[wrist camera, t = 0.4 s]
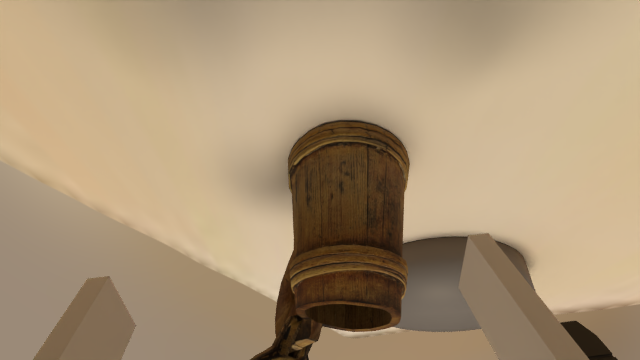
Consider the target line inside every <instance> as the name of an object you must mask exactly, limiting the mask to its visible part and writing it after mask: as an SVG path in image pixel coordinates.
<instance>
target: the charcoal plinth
mask: <svg viewBox="0 0 640 360" xmlns="http://www.w3.org/2000/svg"><path fill="white" fill-rule="evenodd" d="M467 239H468V237H442V238H432V239H425V240H418V241H414V242H409V243H405V244H403V246H402V258H403V259H404V260H406V262H407V266H408V277H407V286H406V292H405V296H404V298H403V299H402V304H401V320H400V322H399V323H398V324H397V325H396V326H393V327H396V328H401V329H407V330H415V331H431V332H452V331H466V330H475V329H481V327H480V325H479V323H478V322H477V320H476V318H475V316H474V314H473V313H472V311H471V309H470V307H469V306H468V304H467V302H466V300H465V298H464V297H463V295H462V293H461V291H460V289H459V288H458V287H459V281H460V276H461V271H462V266H463V260H464V255H465V250H466V244H467ZM496 243H497V245H498V246H499V247H500V248H501V250H502V251H503V252H504V253H505V255H506V256H507V257H508V258H509V260H510V261H511V262H512V263H513V265H514V266H515V267H516V268H517V270H518V271H519V272H520V273H521V275H522V276H523V277H524V278H525V280H526V281H527V282H528V283H529V285H530V286H531V287H532V288H533V290H534V291H535V289H534V286H533V283H532V280H531V277H530V274H529V271H528V269H527V266H526V263H525V260H524V257H523V256H522V255H521V254H520V253H519V252H518V251H517V250H515V249H513V248H512V247H510V246H508V245H505V244H502V243H499V242H496Z"/></svg>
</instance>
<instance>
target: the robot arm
mask: <svg viewBox="0 0 640 360" xmlns="http://www.w3.org/2000/svg"><path fill="white" fill-rule="evenodd" d="M458 288H459V289H460V291H461V293H462V295H463V297H464V298H465V300H466V302H467V304H468V306H469V307H470V309H471V311H472V313H473V314H474V316H475V318H476V320H477V322H478V323H479V325H480V327H481V329H482V331H483V332H484V334H485V336H486V337H487V339H488V341H489V343H490V345H491V347H492V348H493V350H494V352H495V354H496V355H497V357H498V359H499V360H617V359H616V357H613V356H612V353H611V352H610V350H609V349H608V348H607V347H606V346H605V345H604V344H603V342H602V341H601V340H600V339H599V338H598V337H597V336H596V335H595V334H594V333H592V332H591V331H590V330H588V329H587V328H585V327H584V326H583V325H581V324H580V323H579V322H577V321H570V322H562V323H560V322H559V321H558V320H557V318H556V317H555V316H554V315H553V313H552V312H551V311H550V310H549V308H548V307H547V306H546V305H545V303H544V302H543V301H542V300H541V298H540V297H539V296H538V295H537V293H536V292H535V291H534V290H533V288H532V287H531V286H530V285H529V283H528V282H527V281H526V280H525V278H524V277H523V276H522V275H521V273H520V272H519V271H518V270H517V268H516V267H515V266H514V265H513V263H512V262H511V261H510V260H509V258H508V257H507V256H506V255H505V253H504V252H503V251H502V250H501V248H500V247H499V246H498V245H497V243H496V242H495V241H494V240H493V238H492V237H491V236H490V235H489V233H486V234H477V235H468V239H467V244H466V250H465V255H464V260H463V266H462V271H461V276H460V281H459V287H458ZM135 327H136V325H135V323H134V321H133V319H132V318H131V316H130V314H129V312H128V310H127V308H126V306H125V305H124V302H123V301H122V299H121V297H120V295H119V293H118V291H117V290H116V288H115V286H114V284H113V282H112V280H111V278H110V277H109V276H106V277H97V278H88V279H87V280H86V282H85V283H84V285H83V286H82V287H81V289H80V290H79V292H78V293H77V295H76V297H75V298H74V299H73V301H72V302H71V304H70V305H69V307H68V308H67V310H66V311H65V313H64V314H63V316H62V317H61V319H60V320H59V322H58V323H57V325H56V326H55V328H54V329H53V331H52V332H51V334H50V335H49V336H48V338H47V339H46V341H45V342H44V344H43V346H42V347H41V348H40V350H39V351H38V353H37V354H36V356H35V357H34V359H33V360H121V359H122V356H123V354H124V352H125V349H126V347H127V345H128V343H129V340H130V338H131V336H132V333H133V331H134V329H135Z"/></svg>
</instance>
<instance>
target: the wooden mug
mask: <svg viewBox="0 0 640 360" xmlns="http://www.w3.org/2000/svg"><path fill="white" fill-rule="evenodd" d="M409 165H410V163H409V159H408V155H407V151H406V150H405V148H404V146H403V145H402V143H401V142H400V141H399V140H398V139H397V138H396V137H395V136H394V135H393V134H391V133H390V132H388V131H386V130H384V129H382V128H380V127H378V126H374V125H370V124H365V123H361V122H335V123H329V124H324V125H322V126H319V127H317V128H315V129H313V130H311V131H309V132H308V133H307V134H306V135H304V136H303V137H302V138H301V139H299V141H298V142H297V143H296V145H295V146H294V147H293V149H292V151H291V153H290V156H289V158H288V177H289V189H290V191H291V193H292V204H293V228H294V250H293V253H292V255H291V258H290V260H289V263H288V265H287V268H286V271H285V274H284V277H283V279H282V282H281V286H280V291H279V296H278V300H277V308H276V317H275V333H276V339H275V341H274V343H273V345H272V346H271V347H269V348H268V349H266V350H265V351H263V352H261V353H259V354H257V355H256V356H254V357H253V358H252V359H250V360H309V359H308V353H309V351H310V348H311V346H312V344H313V343H314V342H316V341H318V339H319V336H320V332H321V328H322V326H324V327H329V328H334V329H339V330H345V331H352V332H364V331H376V330H381V329H386V328H390V327H393V326H396V325H397V324H398V323H399V322H400V320H401V304H402V299H403V298H404V296H405V292H406V286H407V277H408V266H407V262H406V260H404V259H403V258H402V246H403V215H404V192H405V190H406V187H407V181H408V173H409Z"/></svg>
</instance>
